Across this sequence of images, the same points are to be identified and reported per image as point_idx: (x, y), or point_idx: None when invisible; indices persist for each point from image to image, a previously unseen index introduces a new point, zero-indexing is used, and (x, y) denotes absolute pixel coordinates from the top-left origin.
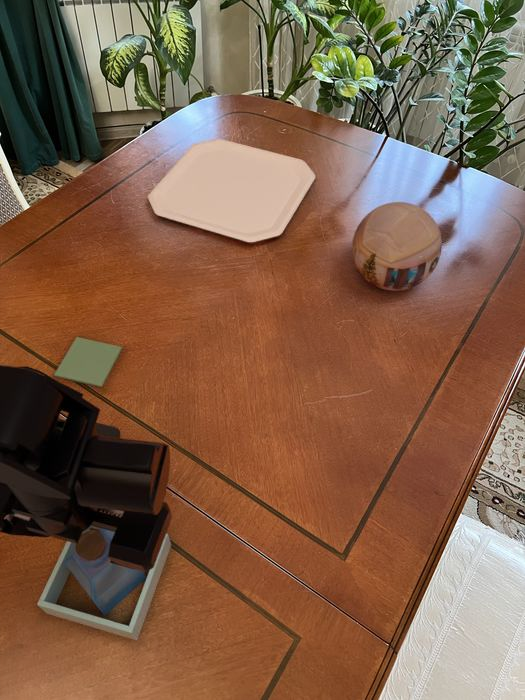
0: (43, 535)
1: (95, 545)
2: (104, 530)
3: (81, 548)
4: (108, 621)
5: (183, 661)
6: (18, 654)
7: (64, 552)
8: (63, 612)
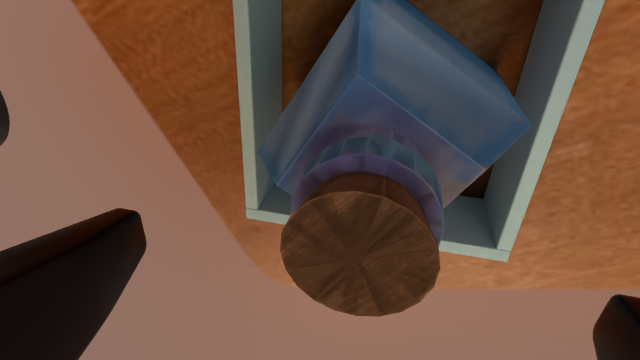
0: (103, 314)
1: (388, 265)
2: (368, 57)
3: (320, 277)
4: None
5: (615, 239)
6: (258, 241)
7: (246, 89)
8: None
